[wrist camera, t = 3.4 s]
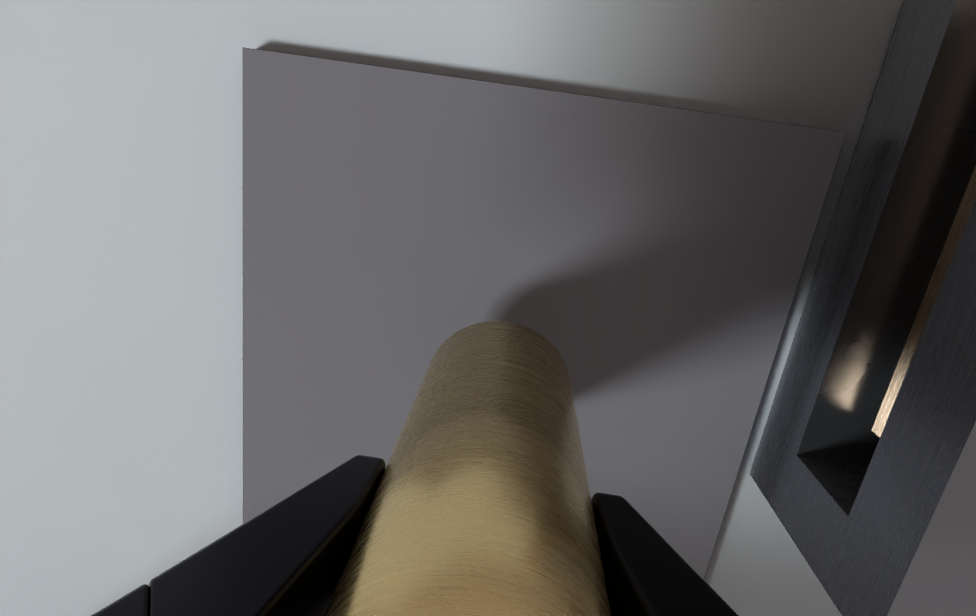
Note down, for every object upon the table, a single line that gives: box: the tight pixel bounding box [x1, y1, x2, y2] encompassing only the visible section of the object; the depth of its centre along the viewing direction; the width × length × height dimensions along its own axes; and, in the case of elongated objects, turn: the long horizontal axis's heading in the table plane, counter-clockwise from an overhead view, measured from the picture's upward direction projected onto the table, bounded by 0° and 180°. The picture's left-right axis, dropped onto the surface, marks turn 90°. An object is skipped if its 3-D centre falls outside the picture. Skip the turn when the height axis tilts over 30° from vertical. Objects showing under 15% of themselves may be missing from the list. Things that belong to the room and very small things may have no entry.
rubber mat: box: [243, 48, 846, 580], centre depth 13 cm, size 12×12×1 cm
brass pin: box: [324, 321, 611, 616], centre depth 7 cm, size 3×3×10 cm
